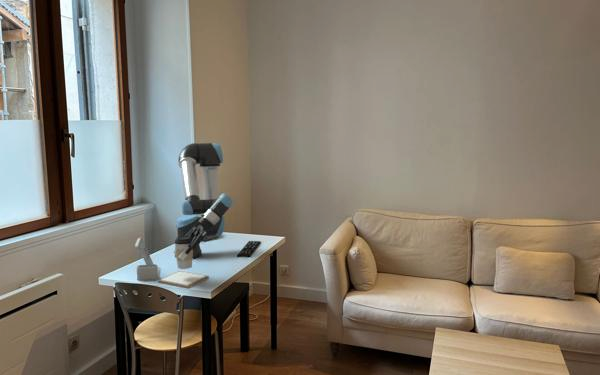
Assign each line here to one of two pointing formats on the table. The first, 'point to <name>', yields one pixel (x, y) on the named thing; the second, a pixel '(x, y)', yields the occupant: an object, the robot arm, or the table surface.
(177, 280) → the notebook
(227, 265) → the table surface
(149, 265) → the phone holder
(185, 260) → the coffee cup
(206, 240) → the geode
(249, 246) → the remote control
